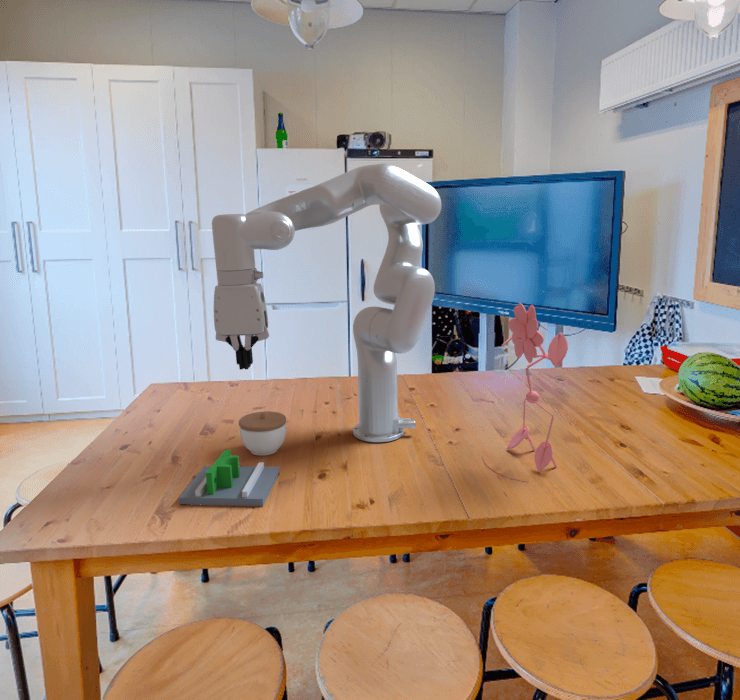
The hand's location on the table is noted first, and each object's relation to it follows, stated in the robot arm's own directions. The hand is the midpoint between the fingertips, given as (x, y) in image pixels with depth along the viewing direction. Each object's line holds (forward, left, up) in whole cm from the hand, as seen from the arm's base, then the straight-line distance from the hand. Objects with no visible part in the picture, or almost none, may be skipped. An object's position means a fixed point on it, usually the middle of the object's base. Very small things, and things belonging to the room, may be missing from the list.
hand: (245, 367), depth 117 cm
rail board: (+2, +8, -23) cm, 24 cm away
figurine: (-57, -6, -23) cm, 62 cm away
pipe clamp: (+3, +8, -22) cm, 23 cm away
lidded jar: (0, -11, -23) cm, 25 cm away
